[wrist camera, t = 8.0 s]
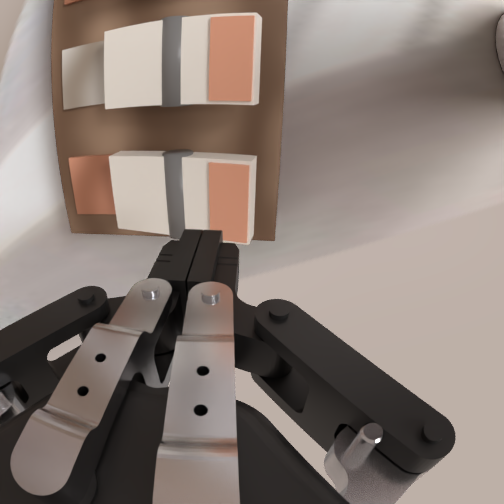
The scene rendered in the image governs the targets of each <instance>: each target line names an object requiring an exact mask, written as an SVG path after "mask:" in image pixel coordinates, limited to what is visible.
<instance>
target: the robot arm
mask: <svg viewBox="0 0 504 504" xmlns="http://www.w3.org/2000/svg"><path fill="white" fill-rule="evenodd" d="M496 48H497V53H498V58H499V61H500V64H501V67H502V70H503V72H504V14H503V15H502V16H501V18H500V20H499V22H498V25H497V29H496ZM238 277H239V249H238V248H237V246H236V245H235V243H223V232H222V230H204V231H203V230H200V229H184V231H183V233H182V236H181V238H180V240H179V241H174V240H171V241H170V242H168V243H167V244H166V245H165V246H163V248H162V250H161V252H160V254H159V256H158V258H157V260H156V262H155V264H154V266H153V268H152V270H151V272H150V274H149V276H148V278H147V279H144V280H141V281H139V282H137V283H136V284H135V285H133V287H132V288H131V289H130V291H129V292H128V294H127V296H123V297H116V298H109V299H108V298H107V294H106V292H105V291H104V290H103V289H102V288H100V287H96V286H88V287H83V288H81V289H78V290H76V291H74V292H72V293H70V294H68V295H66V296H64V297H62V298H61V299H59V300H57V301H55V302H53V303H51V304H49V305H47V306H45V307H43V308H41V309H39V310H37V311H35V312H34V313H32V314H30V315H28V316H26V317H24V318H22V319H20V320H18V321H17V322H15V323H13V324H11V325H9V326H7V327H5V328H4V329H2V330H0V504H395V503H396V501H397V500H398V499H399V498H400V497H401V496H402V495H403V494H404V492H405V491H406V490H407V489H408V488H409V487H410V486H411V484H413V483H414V482H415V481H416V480H418V479H419V478H420V477H421V476H423V475H424V474H425V473H426V472H428V471H429V470H430V469H431V468H432V467H433V466H435V465H436V464H437V463H438V462H439V461H440V460H442V459H443V458H444V457H445V456H446V455H447V454H448V453H449V452H450V451H451V450H452V448H453V446H454V443H455V431H454V428H453V426H452V424H451V422H450V421H449V420H448V419H447V418H446V417H445V416H443V415H442V414H441V413H439V412H438V411H436V410H435V409H434V408H432V407H431V406H429V405H428V404H427V403H426V402H424V401H423V400H421V399H420V398H418V397H417V396H416V395H415V394H413V393H412V392H410V391H409V390H408V389H407V388H405V387H404V386H403V385H401V384H400V383H398V382H397V381H396V380H394V379H393V378H392V377H390V376H389V375H388V374H386V373H385V372H384V371H382V370H381V369H380V368H378V367H377V366H376V365H374V364H373V363H372V362H370V361H369V360H367V359H366V358H365V357H364V356H362V355H361V354H360V353H358V352H357V351H355V350H354V349H353V348H352V347H350V346H349V345H347V344H346V343H345V342H344V341H342V340H341V339H340V338H338V337H337V336H336V335H334V334H333V333H332V332H331V331H329V330H328V329H327V328H325V327H324V326H322V325H321V324H320V323H319V322H317V321H316V320H315V319H313V318H312V317H311V316H310V315H308V314H307V313H306V312H304V311H303V310H301V309H300V308H299V307H298V306H296V305H295V304H293V303H291V302H289V301H286V300H281V299H271V300H267V301H264V302H262V303H261V304H259V305H258V306H257V307H255V306H251V305H248V304H246V303H244V302H242V301H241V300H240V299H239V298H238V297H237V291H238ZM77 334H79V336H80V338H81V341H82V345H80V346H78V347H77V348H75V349H73V350H72V351H70V352H68V353H66V354H65V355H63V356H61V357H59V358H58V359H56V360H54V361H48V360H47V355H48V353H49V351H50V350H51V349H53V348H54V347H56V346H58V345H60V344H61V343H63V342H64V341H66V340H68V339H70V338H72V337H74V336H75V335H77ZM235 368H238V369H242V370H244V371H248V372H251V375H252V378H253V380H254V381H255V382H256V383H257V384H258V385H259V386H260V387H261V388H262V389H263V390H264V392H265V393H266V394H267V395H268V396H269V397H270V398H271V399H272V400H273V401H274V402H275V403H276V404H277V405H278V406H279V407H280V408H281V409H282V410H283V411H284V412H285V413H286V414H287V415H288V416H289V417H291V419H293V420H294V421H295V422H296V423H297V424H298V425H299V426H300V427H301V428H302V429H303V430H304V431H305V432H306V433H307V434H308V435H309V436H310V437H311V438H312V439H314V440H315V441H316V442H317V443H318V444H319V445H320V446H321V447H322V448H323V449H324V450H325V451H327V454H326V457H325V460H324V466H325V471H326V473H327V475H328V476H329V477H330V478H331V480H332V481H333V483H334V484H335V487H336V490H335V489H334V488H333V487H332V486H331V485H330V484H329V483H328V482H327V481H326V480H325V479H324V478H323V477H322V476H321V475H320V474H319V473H318V472H317V471H316V470H315V469H314V468H313V467H312V466H311V465H310V464H309V463H308V462H307V461H306V460H305V459H304V458H303V457H302V456H301V455H300V453H299V452H298V451H297V450H296V449H295V448H294V447H293V446H292V445H291V444H290V443H289V442H288V441H287V440H286V438H285V437H284V436H283V435H282V434H281V433H280V432H279V431H278V430H277V429H276V428H275V426H274V425H273V424H272V423H271V422H270V421H269V420H268V419H267V418H266V417H265V416H264V415H263V414H262V413H260V412H259V411H257V410H256V409H255V408H253V407H251V406H249V405H247V404H245V403H243V402H241V401H238V400H236V396H235ZM169 382H170V385H169ZM168 385H169V387H168Z"/></svg>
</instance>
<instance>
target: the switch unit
mask: <svg viewBox="0 0 504 504" xmlns="http://www.w3.org/2000/svg"><path fill="white" fill-rule="evenodd" d="M287 11H288V0H54V6H53V20H52V43H51V76H52V101H53V115H54V127H55V137H56V146H57V154H58V161H59V168H60V175H61V181H62V187H63V193H64V198H65V204H66V209H67V214H68V218H69V223H70V228H71V232H72V233H85V234H116V235H145V236H169V235H166V234H158V233H150V232H143V231H135V230H127V229H119V228H118V224H117V218H116V211H115V204H114V197H113V189H112V181H111V173H110V164H109V156H111V155H113V154H115V153H117V152H119V151H169V150H175V149H188V150H192V151H193V152H207V153H225V154H241V155H254V156H257V163H256V189H255V214H254V235H253V237H252V239H251V240H265V241H275V228H276V214H277V200H278V185H279V170H280V154H281V137H282V120H283V102H284V82H285V61H286V37H287ZM225 13H258V14H259V15H260V16H261V17H262V33H261V59H260V86H259V104H256V105H233V104H193V105H188V106H177V107H161V105H154V106H138V107H125V108H114V109H105V91H104V32H105V31H109V30H113V29H118V28H122V27H127V26H132V25H137V24H142V23H147V22H153V21H159V20H161V19H163V18H165V17H170V16H199V15H210V14H225Z"/></svg>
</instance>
